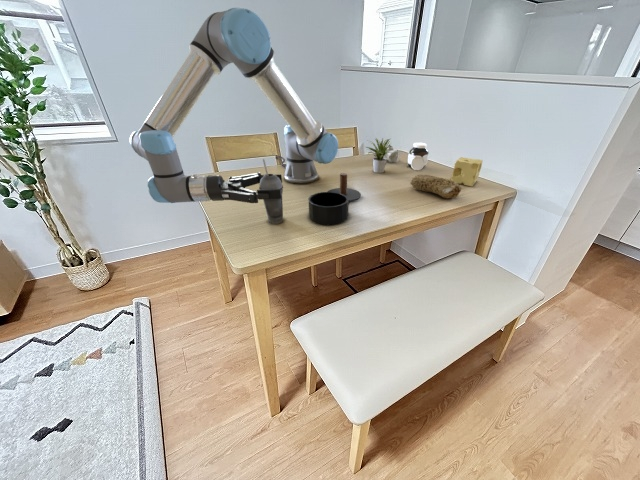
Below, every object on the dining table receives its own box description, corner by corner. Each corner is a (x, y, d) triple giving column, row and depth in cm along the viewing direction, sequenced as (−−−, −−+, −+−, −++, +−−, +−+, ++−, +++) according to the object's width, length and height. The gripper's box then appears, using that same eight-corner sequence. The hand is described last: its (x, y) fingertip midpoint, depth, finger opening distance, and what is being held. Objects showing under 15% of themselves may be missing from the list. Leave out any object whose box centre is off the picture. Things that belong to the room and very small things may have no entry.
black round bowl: (308, 209, 101) (307, 192, 97) (344, 207, 103) (344, 191, 99) (310, 226, 90) (309, 208, 86) (351, 224, 92) (351, 206, 89)
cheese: (472, 187, 126) (479, 164, 120) (449, 182, 130) (454, 160, 124) (477, 181, 133) (483, 159, 127) (454, 176, 138) (460, 155, 132)
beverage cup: (281, 226, 89) (273, 163, 78) (260, 224, 91) (249, 161, 79) (290, 217, 95) (283, 157, 84) (270, 215, 96) (261, 155, 85)
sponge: (460, 199, 116) (428, 176, 127) (466, 183, 110) (431, 161, 121) (437, 210, 112) (405, 186, 123) (441, 194, 106) (408, 170, 117)
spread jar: (420, 164, 155) (423, 141, 148) (432, 169, 146) (437, 146, 140) (401, 165, 151) (404, 143, 144) (413, 171, 142) (417, 148, 136)
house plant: (374, 165, 151) (377, 132, 141) (397, 170, 144) (401, 136, 135) (360, 171, 141) (361, 136, 132) (383, 176, 135) (387, 140, 125)
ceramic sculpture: (391, 148, 146) (373, 144, 157) (389, 164, 151) (372, 160, 161) (405, 146, 152) (387, 142, 162) (403, 162, 156) (386, 158, 167)
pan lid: (324, 190, 117) (323, 169, 112) (357, 189, 119) (357, 168, 114) (327, 204, 105) (327, 180, 100) (364, 202, 108) (365, 179, 102)
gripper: (194, 191, 71) (278, 188, 74) (215, 164, 91) (280, 162, 94) (202, 217, 75) (281, 213, 79) (220, 186, 95) (283, 184, 99)
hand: (281, 185), depth 87 cm, fingers open, 13 cm apart
